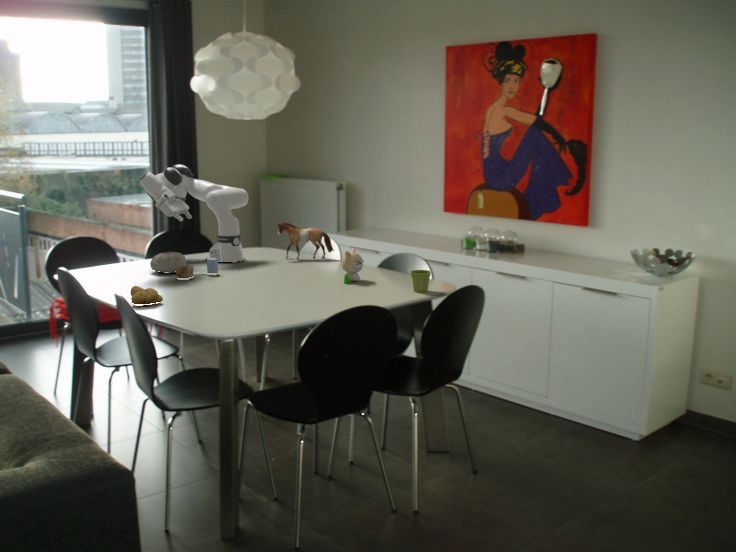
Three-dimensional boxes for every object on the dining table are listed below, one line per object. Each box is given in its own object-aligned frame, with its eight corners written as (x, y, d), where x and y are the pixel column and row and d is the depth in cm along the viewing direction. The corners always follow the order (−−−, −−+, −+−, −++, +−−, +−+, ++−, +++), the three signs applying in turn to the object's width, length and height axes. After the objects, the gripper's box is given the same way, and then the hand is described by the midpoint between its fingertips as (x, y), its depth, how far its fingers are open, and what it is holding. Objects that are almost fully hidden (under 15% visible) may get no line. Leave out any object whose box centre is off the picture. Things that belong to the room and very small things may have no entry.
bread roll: (163, 301, 339) (162, 283, 337) (162, 307, 329) (161, 288, 328) (132, 303, 336) (130, 284, 335) (129, 308, 327) (128, 289, 326)
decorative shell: (143, 274, 400) (142, 254, 398) (163, 268, 417) (162, 249, 415) (175, 276, 395) (173, 256, 393) (193, 269, 411) (192, 250, 409)
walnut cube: (176, 280, 385) (176, 268, 384) (182, 277, 390) (181, 265, 389) (188, 280, 384) (187, 268, 382) (193, 278, 389) (193, 266, 388)
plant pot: (435, 290, 354) (435, 270, 353) (425, 294, 346) (425, 274, 345) (416, 288, 359) (416, 269, 357) (406, 292, 351) (406, 272, 349)
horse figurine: (277, 260, 435) (275, 222, 431) (279, 258, 442) (278, 220, 438) (334, 260, 432) (333, 222, 428) (335, 258, 439) (335, 220, 435)
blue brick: (207, 275, 395) (206, 259, 394) (210, 274, 399) (209, 258, 397) (215, 275, 394) (214, 259, 393) (218, 274, 398) (217, 258, 397)
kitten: (357, 284, 368) (356, 252, 365) (336, 283, 371) (336, 251, 369) (367, 278, 382) (367, 247, 379) (347, 277, 385) (347, 246, 382)
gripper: (171, 201, 404) (191, 221, 404) (153, 205, 385) (173, 226, 385) (179, 192, 403) (199, 212, 402) (161, 196, 383) (181, 217, 383)
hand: (186, 219), depth 393 cm, fingers open, 8 cm apart
